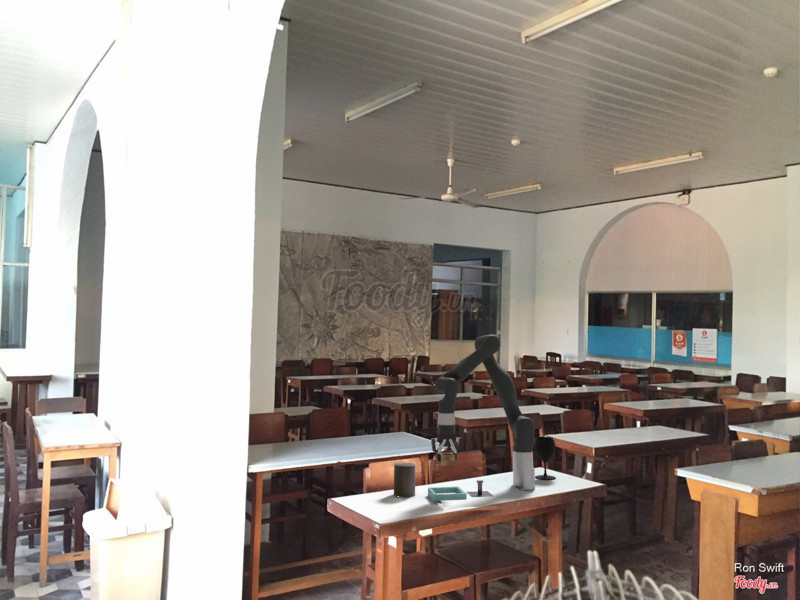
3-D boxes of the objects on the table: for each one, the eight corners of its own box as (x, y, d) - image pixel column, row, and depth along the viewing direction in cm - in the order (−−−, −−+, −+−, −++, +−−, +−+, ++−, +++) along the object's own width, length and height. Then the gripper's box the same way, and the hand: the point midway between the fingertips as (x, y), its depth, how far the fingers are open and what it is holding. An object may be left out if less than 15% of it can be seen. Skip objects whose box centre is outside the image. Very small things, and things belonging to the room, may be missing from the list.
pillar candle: (395, 498, 280) (396, 463, 281) (391, 492, 289) (392, 459, 290) (417, 497, 282) (417, 462, 283) (412, 492, 291) (413, 458, 292)
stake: (487, 494, 287) (487, 477, 287) (494, 499, 277) (494, 482, 277) (466, 495, 285) (465, 478, 285) (472, 500, 275) (472, 483, 276)
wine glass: (560, 478, 319) (559, 438, 321) (544, 481, 314) (544, 440, 316) (545, 475, 328) (545, 435, 330) (530, 477, 323) (530, 437, 324)
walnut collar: (451, 462, 283) (451, 452, 283) (455, 465, 277) (455, 454, 277) (438, 463, 282) (438, 452, 282) (441, 465, 276) (441, 455, 276)
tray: (458, 494, 286) (458, 486, 287) (466, 502, 273) (466, 493, 273) (427, 495, 284) (427, 487, 284) (434, 503, 270) (434, 495, 271)
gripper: (460, 421, 286) (460, 459, 284) (428, 422, 283) (428, 460, 282) (464, 424, 278) (464, 463, 277) (432, 424, 276) (432, 463, 275)
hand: (446, 461), depth 280 cm, fingers closed on walnut collar, 6 cm apart
